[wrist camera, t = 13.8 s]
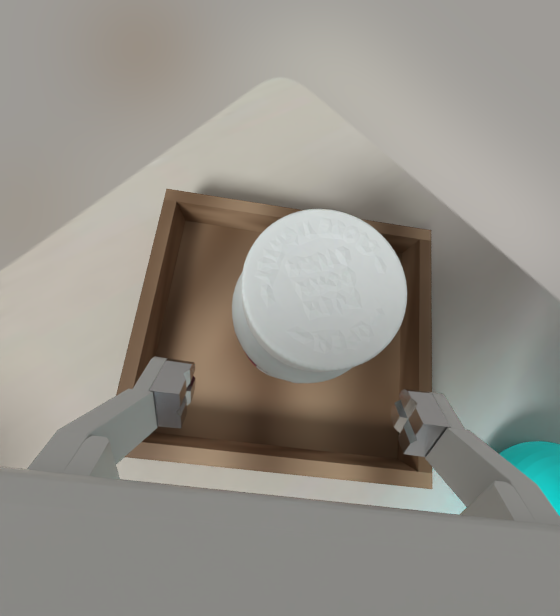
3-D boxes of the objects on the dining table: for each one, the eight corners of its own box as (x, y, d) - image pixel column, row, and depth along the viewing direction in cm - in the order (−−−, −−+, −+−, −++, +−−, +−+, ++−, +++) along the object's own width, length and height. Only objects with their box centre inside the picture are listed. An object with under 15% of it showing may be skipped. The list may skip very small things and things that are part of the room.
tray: (408, 248, 22) (431, 230, 19) (404, 470, 19) (432, 489, 16) (178, 213, 21) (166, 188, 18) (127, 440, 18) (101, 454, 15)
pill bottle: (246, 285, 20) (236, 177, 9) (332, 295, 20) (423, 204, 9) (235, 374, 19) (204, 377, 8) (327, 383, 19) (427, 399, 8)
